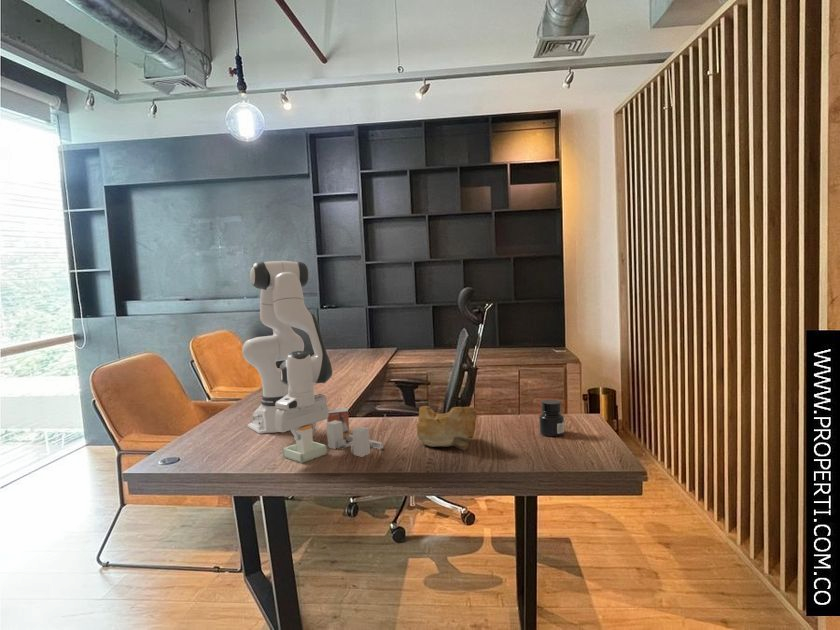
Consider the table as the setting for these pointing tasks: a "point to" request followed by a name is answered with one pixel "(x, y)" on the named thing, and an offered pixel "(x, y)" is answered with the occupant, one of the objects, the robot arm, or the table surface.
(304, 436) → the block
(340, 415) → the small box
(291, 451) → the tray
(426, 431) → the rough brown rock
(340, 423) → the block
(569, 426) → the table surface
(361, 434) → the block
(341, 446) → the rail
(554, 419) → the ink bottle
